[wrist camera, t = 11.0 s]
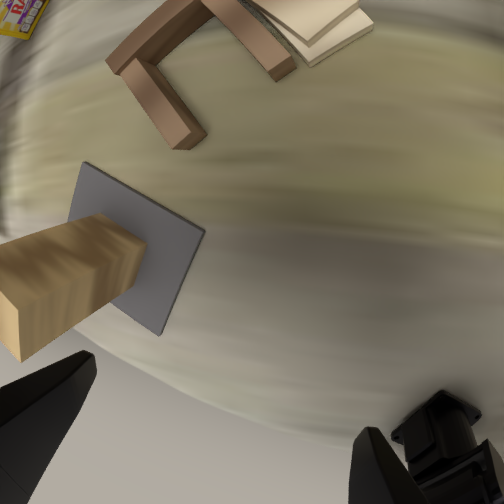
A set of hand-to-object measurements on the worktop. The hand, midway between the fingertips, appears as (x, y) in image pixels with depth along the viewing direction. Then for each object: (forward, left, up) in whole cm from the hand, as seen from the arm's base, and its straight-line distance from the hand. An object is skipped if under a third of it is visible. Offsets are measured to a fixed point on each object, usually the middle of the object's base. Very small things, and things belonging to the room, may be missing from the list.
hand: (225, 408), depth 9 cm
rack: (+10, -12, -13) cm, 20 cm away
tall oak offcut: (+12, +6, -12) cm, 18 cm away
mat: (+12, +6, -13) cm, 19 cm away
